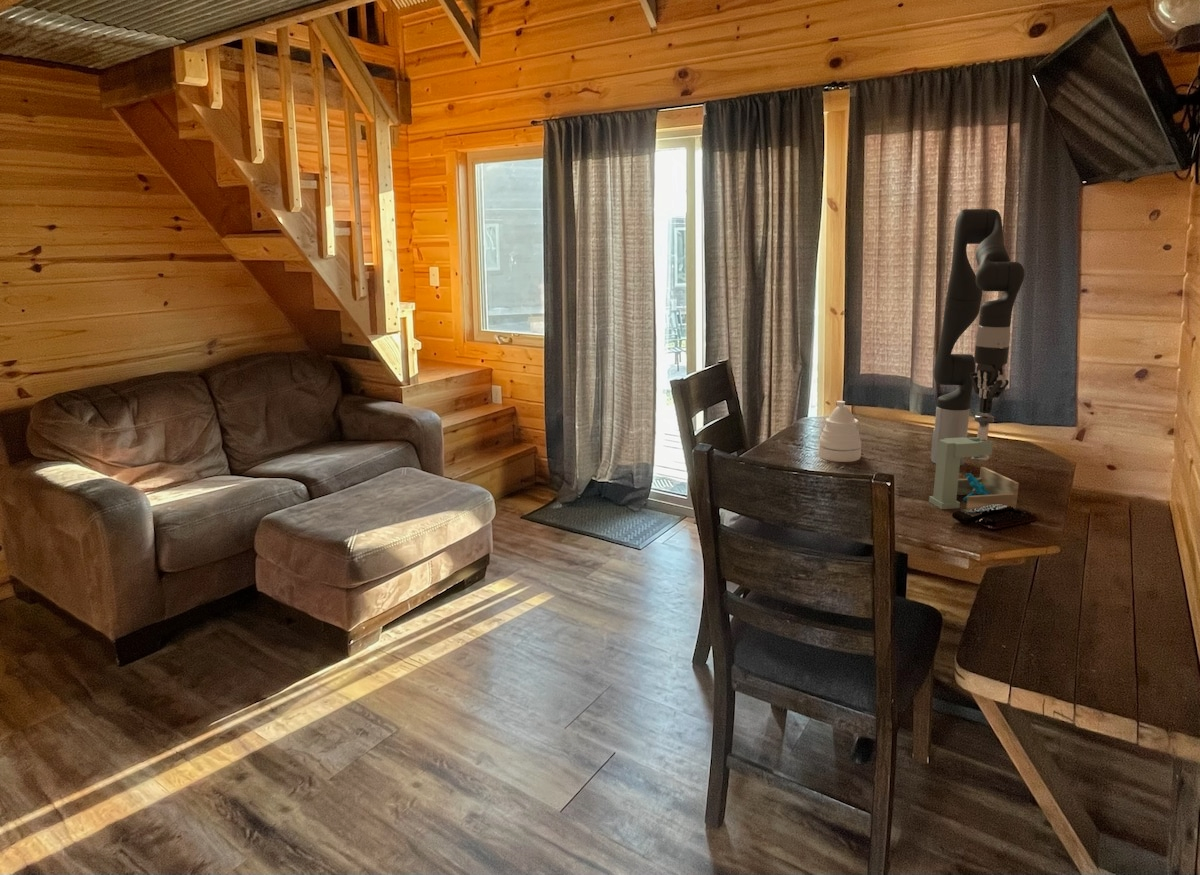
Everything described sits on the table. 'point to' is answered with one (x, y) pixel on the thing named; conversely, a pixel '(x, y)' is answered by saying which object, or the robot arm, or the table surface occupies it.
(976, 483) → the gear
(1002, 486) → the tan open box
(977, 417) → the ram
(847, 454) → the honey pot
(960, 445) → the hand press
